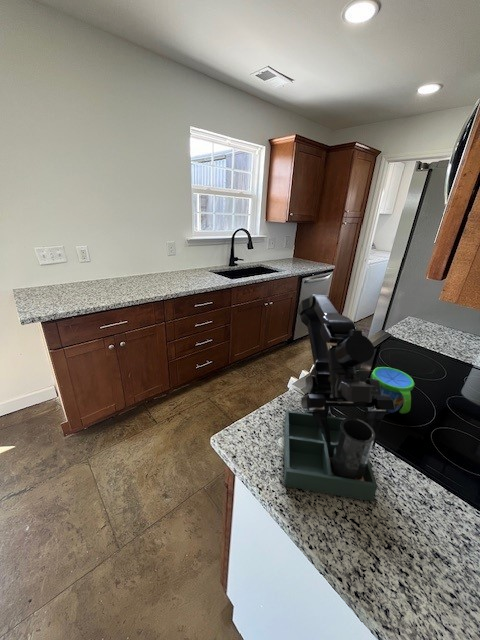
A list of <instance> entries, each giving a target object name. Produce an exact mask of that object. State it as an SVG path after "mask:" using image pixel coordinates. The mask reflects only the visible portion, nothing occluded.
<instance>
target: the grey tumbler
mask: <svg viewBox="0 0 480 640" xmlns="http://www.w3.org/2000/svg"><path fill="white" fill-rule="evenodd" d="M345 418H346V419H344V420H343V421H341V424H340V428H339V432H338V436H337V441H336V445H335V449H334V453H333V457H332V461H331V465H330V466H331V472H332V476H335V477H342V478H348V479H354V480H360V481H361V479H362V476H363V473H364V470H365V467H366V464H367V461H368V458H370V454H371V452H372V449H373V446H372V445H373V442H374V439H375V433H374V430H373V429H372V428H371V426H370V425H369V424H367V423H366V421H364V420H362V419H359V418H357V417H345Z"/></svg>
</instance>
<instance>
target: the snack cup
mask: <svg viewBox="0 0 480 640" xmlns="http://www.w3.org/2000/svg"><path fill="white" fill-rule="evenodd" d="M370 379H377V380H379V384H380V388H381V391H380V396H390V397H391V398H392V400H393V401H394V404H395V410H386V411H390V413H391V414H394V413H396V412H397V411H399V413H400V414H407V413H409V412H410V411H411V407H412V406H411V405H412V394H411V392H412V390H414V387H415V385H416V383H415V382H414V379H413V378H412V377H411V376H410V375H409V374H408V373H406V372H404V371H402V370H400V369H397V368H393V367H389V366H388V367H387V366H378V367H375V368H374V369H373V371H372V372H371V375H370Z"/></svg>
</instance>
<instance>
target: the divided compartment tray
mask: <svg viewBox="0 0 480 640" xmlns="http://www.w3.org/2000/svg"><path fill="white" fill-rule="evenodd" d="M346 418H347V417H340V416H332V415H331V416H327V419H328V425H329V432H330V440H331V445H327V443H326V441H325V439H324V436H323V434H322V432H321V430H320V427H319V425H318V423H317V422H316V420H315V418H314V416H313V415H312V414H311V413H308V412H302V411H296V410H289V409H288V410H287V409H286V410H285V417H284V432H283V433H284V445H283V446H284V448H283V450H284V451H283V458H284V459H283V486H284V487H287V488H294V489H299V490H304V491H305V490H306V491H310V492H311V491H312V492H317V493H323V494H327V495H334V496H340V497H345V498H350V499H357V500H361V501H363V500H364V501H368V502H373V500H374V497H375V495H376V492H377V489H378V483H377V480H376V476H375V473H374V470H373V467H372V464H371V462H370V459H369V458H370V457H369V458H368V461H367V464H366V467H365V470H364V473H363V476H362V479H361V481H360V480H354V479H348V478H342V477H335V476H332V472H331V466H330V465H331V461H332V457H333V453H334V449H335V445H336V441H337V436H338V432H339V428H340V424H341V421H343V420H344V419H346Z"/></svg>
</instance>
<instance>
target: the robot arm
mask: <svg viewBox="0 0 480 640" xmlns="http://www.w3.org/2000/svg"><path fill="white" fill-rule="evenodd" d="M297 314H298V315H299V318H300V321H301V323H302V324H303V325H305V327H306V328H307V332H308V333H307V334H308V338H309V344H310V349H311V355H312V361H313V368H312V369H311V372H310V373H309V376H306V377H305V387H306V391H307V394H305V395H303V396H302V397H301V398H300V406H301V409H307V413H311V414H312V415H313V416H314V418H315V420H316V422H317V423H318V425H319V427H320V430H321V432H322V434H323V436H324V439H325V441H326V443H327V445H331V440H330V432H329V425H328V419H327V416H332V410H331V407H334V408H335V407H337V408H338V407H339V408H365V409H367V411H364V412H363V414H364V420H365V421H364V422H366V423H367V424H369V425H370V426H371V428H372V429H373V430H374V433H375V439H374V442H373V445H372V448H373V447H375V446H376V443H377V439H378V433H379V428H380V425H381V423H382V420H383V418H384V416H385V415H390V413H391V412H390V411H386V410H395V404H394V401H393V400H392V398H391V397H390V396H380V391H381V388H380V384H379V380H377V379H371V378H366V380H365V381H362V380H361V376H360V373H357V369H356V368H357V366H359V365H362V364H364V363H366V362H368V361H370V360H372V358H373V357H374V355H375V345H373V342H372V341H371V340H370V339H369V338H368V337H367V336H365V335H363V331H362V329H358V327H357V326H356V325H355V323H354V321H353V320H352V319H351V318H350V317H348V316H345V315H344V314H343V315H342V314H340V313H339V311H338V310H337V309H336V308H335V306H334V305H333V304H332V302H331V301H330V297H329V295H327V294H323V293H321V294H320V293H313V294H310V296H309V297H307V298H304V299H302V300H301V301H300V302H299V304H298V309H297ZM328 344H333V345H330V346H329V347H328ZM334 344H335V345H334ZM341 400H342V401H341Z"/></svg>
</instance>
